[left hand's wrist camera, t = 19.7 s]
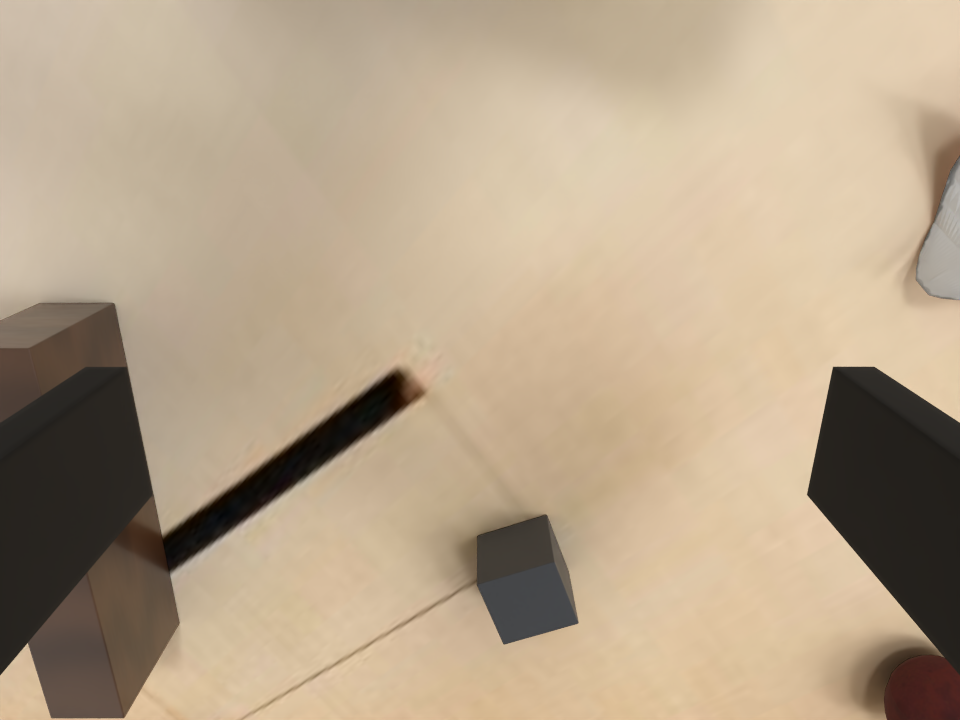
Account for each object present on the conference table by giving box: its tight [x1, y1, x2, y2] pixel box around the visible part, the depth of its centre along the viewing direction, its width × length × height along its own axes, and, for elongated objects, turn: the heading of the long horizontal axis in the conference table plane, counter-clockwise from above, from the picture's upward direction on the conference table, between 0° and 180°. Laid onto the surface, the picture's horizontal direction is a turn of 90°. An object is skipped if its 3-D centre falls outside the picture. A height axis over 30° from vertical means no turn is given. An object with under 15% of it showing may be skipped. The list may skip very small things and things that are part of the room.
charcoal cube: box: [477, 515, 578, 644], centre depth 43 cm, size 5×5×5 cm
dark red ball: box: [884, 655, 960, 720], centre depth 46 cm, size 7×8×7 cm
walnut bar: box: [0, 303, 179, 718], centre depth 40 cm, size 24×4×8 cm, turn 0°
